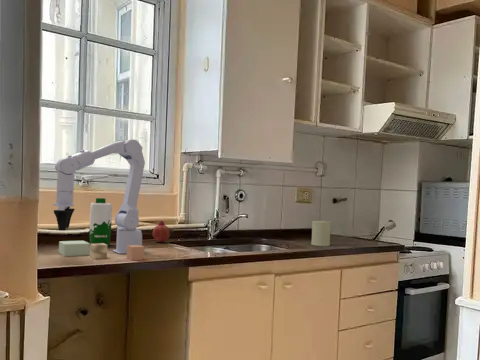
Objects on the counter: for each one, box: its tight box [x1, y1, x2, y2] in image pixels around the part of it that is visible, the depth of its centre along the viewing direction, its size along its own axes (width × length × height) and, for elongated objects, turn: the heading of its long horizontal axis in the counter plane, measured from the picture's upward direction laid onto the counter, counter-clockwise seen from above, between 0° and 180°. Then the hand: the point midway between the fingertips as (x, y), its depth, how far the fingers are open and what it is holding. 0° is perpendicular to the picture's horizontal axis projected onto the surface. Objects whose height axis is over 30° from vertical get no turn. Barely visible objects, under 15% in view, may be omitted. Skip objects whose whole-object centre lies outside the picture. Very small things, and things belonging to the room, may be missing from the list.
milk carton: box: [88, 197, 113, 247], centre depth 196 cm, size 9×9×20 cm
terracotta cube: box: [126, 245, 146, 261], centre depth 167 cm, size 5×5×5 cm
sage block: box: [58, 240, 90, 257], centre depth 173 cm, size 9×9×4 cm
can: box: [310, 220, 332, 247], centre depth 229 cm, size 9×9×12 cm
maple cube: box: [89, 243, 108, 260], centre depth 167 cm, size 5×5×5 cm
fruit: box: [152, 220, 171, 243], centre depth 214 cm, size 8×8×10 cm
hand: (63, 229), depth 166 cm, fingers open, 7 cm apart
